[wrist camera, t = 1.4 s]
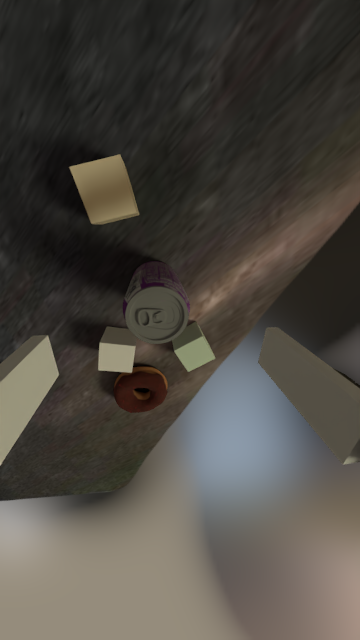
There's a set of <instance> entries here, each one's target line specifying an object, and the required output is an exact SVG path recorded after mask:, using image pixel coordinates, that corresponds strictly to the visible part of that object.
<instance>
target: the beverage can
mask: <svg viewBox="0 0 360 640" xmlns="http://www.w3.org/2000/svg"><path fill="white" fill-rule="evenodd" d="M189 312H190V304H189V299H188V296H187V294H186V292H185V290H184V288H183V286H182V284H181V282H180V280H179V278H178V276H177V275H176V273H175V271H174V270H173V269H172V268H171V267H170V266H169V265H167V264H165V263H163V262H159V261H150V262H147V263H144V264H142V265H141V266H139V267H138V268H137V269H136V271H135V272H134V274H133V276H132V279H131V282H130V284H129V287H128V290H127V292H126V295H125V298H124V302H123V314H124V317H125V320H126V323H127V326H128V328H129V330H130V331H131V333H132V334H133V335H134V336H136V337H137V338H138V339H140V340H142V341H144V342H147V343H152V344H161V343H166V342H169V341H171V340H173V339H175V338H176V337H178V336H179V335H180V334H181V333H182V332H183V330H184V329H185V327H186V325H187V322H188V316H189Z"/></svg>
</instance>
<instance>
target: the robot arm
mask: <svg viewBox="0 0 360 640" xmlns="http://www.w3.org/2000/svg"><path fill="white" fill-rule="evenodd" d="M258 363H259V364H260V365H261V367H262V368H263V369H264V370H265V371H266V373H267V374H268V375H269V376H270V377H271V379H272V380H273V381H274V382H275V383H276V385H277V386H278V387H279V388H280V389H281V391H282V392H283V393H284V394H285V395H286V397H287V398H288V399H289V400H290V401H291V403H292V404H293V405H294V406H295V408H296V409H297V410H298V411H299V412H300V414H301V415H302V416H303V417H304V418H305V420H306V421H307V422H308V423H309V424H310V426H311V427H312V428H313V429H314V430H315V432H316V433H317V434H318V435H319V436H320V437H321V439H322V440H323V441H324V442H325V444H326V445H327V446H328V447H329V448H330V450H331V451H332V452H333V453H334V454H335V456H336V457H337V458H338V459H339V460H340V462H341V463H342V464H350V463H355V462H360V385H358V384H357V383H355V381H353V380H352V379H350V378H349V377H348V376H346V375H345V374H343V373H341V372H339V371H337V370H335V369H333V368H331V367H330V366H329V365H327V364H326V363H325V362H323V361H322V360H321V359H319V358H318V357H316V356H315V355H314V354H312V353H311V352H310V351H308V350H307V349H306V348H304V347H303V346H302V345H300V344H299V343H298V342H296V341H295V340H294V339H292V338H291V337H290V336H288V335H287V334H286V333H284V332H283V331H282V330H280V329H279V328H277V327H276V328H275V327H274V328H266V332H265V336H264V340H263V345H262V349H261V353H260V357H259V361H258ZM58 375H59V373H58V370H57V366H56V363H55V359H54V356H53V352H52V349H51V345H50V341H49V338H48V335H43V336H32V337H31V338H30V339H28V340H27V341H26V342H25V343H24V344H23V345H21V346H20V347H19V348H18V349H17V350H16V351H15V352H13V353H12V354H11V355H10V356H9V357H8V358H7V359H5V360H4V361H3V362H2V363H1V364H0V465H1V463H2V462H3V460H4V459H5V457H6V456H7V454H8V453H9V451H10V449H11V448H12V446H13V445H14V443H15V442H16V440H17V439H18V437H19V436H20V434H21V432H22V431H23V429H24V428H25V426H26V425H27V423H28V422H29V420H30V419H31V417H32V416H33V414H34V412H35V411H36V409H37V408H38V406H39V405H40V403H41V402H42V400H43V399H44V397H45V396H46V394H47V392H48V391H49V389H50V388H51V386H52V385H53V383H54V382H55V380H56V379H57V377H58Z"/></svg>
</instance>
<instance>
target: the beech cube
mask: <svg viewBox="0 0 360 640" xmlns="http://www.w3.org/2000/svg"><path fill="white" fill-rule="evenodd" d="M69 168H70V170H71V173H72V175H73V178H74V180H75V183H76V185H77V188H78V190H79V193H80V196H81V198H82V201H83V203H84V206H85V208H86V211H87V213H88V216H89V218H90V221H91V224H105V223H109V222H113V221H117V220H121V219H125V218H129V217H133V216H137V215H139V212H138V209H137V205H136V202H135V198H134V194H133V191H132V187H131V184H130V180H129V177H128V173H127V170H126V167H125V165H124V162H123V160H122V158H121V155H116V156H112V157H108V158H104V159H100V160H95V161H91V162H87V163H83V164H79V165H75V166H71V167H69Z"/></svg>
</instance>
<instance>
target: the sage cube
mask: <svg viewBox="0 0 360 640" xmlns="http://www.w3.org/2000/svg"><path fill="white" fill-rule="evenodd" d="M172 343H173V348H174V352H175V353H176V355H177V356H178V358H179V359H180V360H181V362H182V363H183V365H184V366H185V368H186V369H187V371H188V372H189V371H191V370H193V369H195V368H197V367H199V366H201V365H203V364H205V363H207V362H209V361H211V360H213V359H215V356H214V354H213V352H212V350H211V348H210V346H209V344H208V342H207V340H206V338H205V337H204V335H203V333H202V331H201V329H200V328H199V326H198V324H197V322H194V323H192V324H190V325H188V326H186V327H185V329H184V330H183V332H182V333H181V334H180V335H179V336H178V337H176V338H175V339H173V340H172Z"/></svg>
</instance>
